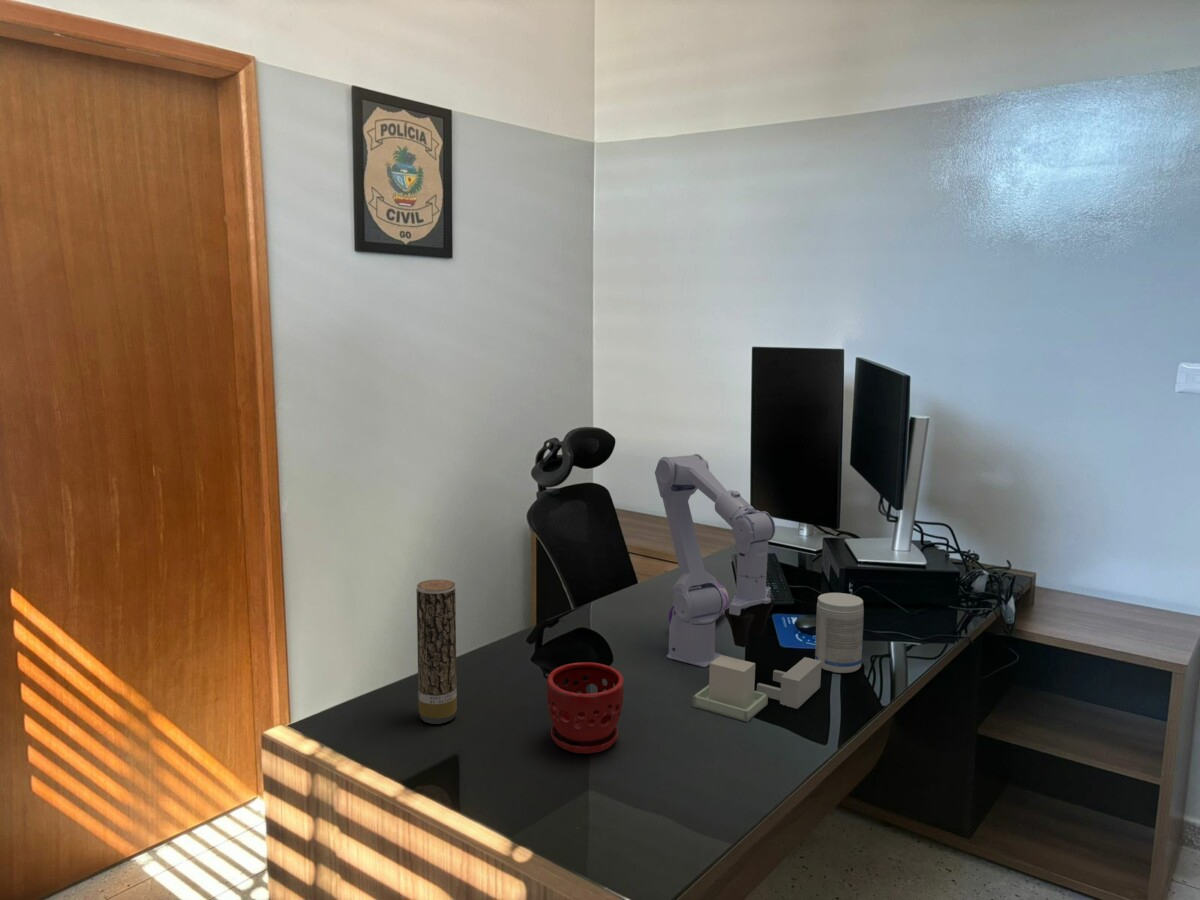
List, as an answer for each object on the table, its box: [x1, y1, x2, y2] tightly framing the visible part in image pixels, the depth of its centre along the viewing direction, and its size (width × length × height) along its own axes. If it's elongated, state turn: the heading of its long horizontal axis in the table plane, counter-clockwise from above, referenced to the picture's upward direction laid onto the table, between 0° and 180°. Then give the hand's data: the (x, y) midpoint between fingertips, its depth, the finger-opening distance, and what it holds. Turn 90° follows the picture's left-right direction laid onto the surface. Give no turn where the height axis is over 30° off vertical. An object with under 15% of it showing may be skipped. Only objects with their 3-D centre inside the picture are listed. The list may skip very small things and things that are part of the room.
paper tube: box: [416, 579, 458, 719], centre depth 158 cm, size 7×7×25 cm
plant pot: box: [546, 661, 625, 754], centre depth 151 cm, size 13×13×12 cm
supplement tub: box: [814, 592, 865, 674], centre depth 186 cm, size 10×10×15 cm
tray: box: [692, 684, 769, 723], centre depth 167 cm, size 11×9×2 cm
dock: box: [756, 656, 822, 710], centre depth 173 cm, size 9×12×6 cm
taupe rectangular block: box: [708, 654, 756, 710], centre depth 166 cm, size 8×5×8 cm, turn 56°
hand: (748, 640), depth 174 cm, fingers open, 7 cm apart
